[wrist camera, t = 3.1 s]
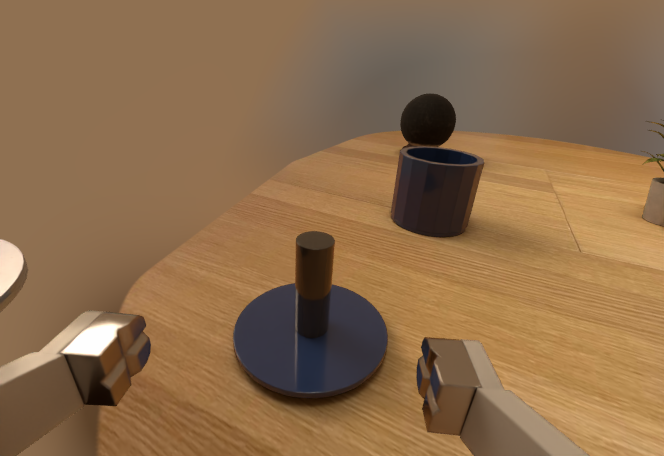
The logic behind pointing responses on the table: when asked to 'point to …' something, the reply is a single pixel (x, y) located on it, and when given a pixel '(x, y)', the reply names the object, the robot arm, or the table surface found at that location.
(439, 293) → the table surface
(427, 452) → the table surface
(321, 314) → the lid
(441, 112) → the ball on stand
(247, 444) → the table surface
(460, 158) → the pot
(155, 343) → the table surface
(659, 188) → the house plant
